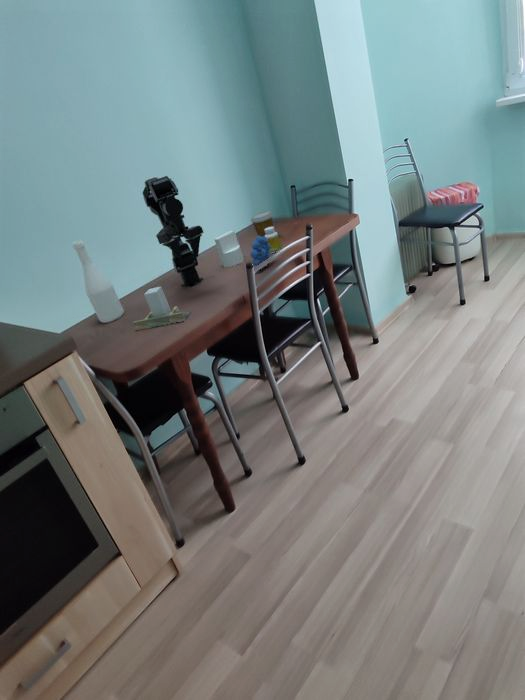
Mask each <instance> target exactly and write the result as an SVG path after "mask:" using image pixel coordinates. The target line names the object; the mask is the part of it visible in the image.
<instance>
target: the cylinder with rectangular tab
mask: <svg viewBox="0 0 525 700" xmlns="http://www.w3.org/2000/svg"><path fill="white" fill-rule="evenodd" d="M214 243H215V245H216V248H217V251H218V255H219V258H220V261H221V264H222V267H223V268H225V267H228V268H232V266H233V267H236V266H238V265H237V264H239V263H241V262H242V263H244V261H245V258H244V255H243V252H242V249H241V245H240V244H239V240H238V237H237V235H236V231H235V230H230V231H227V232H226V233H224V234H222V235H220V236H217V237H216V238H214ZM243 260H244V261H243ZM242 263H241V264H242ZM235 265H236V266H235ZM239 265H240V264H239Z"/></svg>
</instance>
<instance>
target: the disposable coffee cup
mask: <svg viewBox="0 0 525 700" xmlns="http://www.w3.org/2000/svg"><path fill="white" fill-rule="evenodd" d="M250 219H251V220H250V222H251V223H252V225H253V226H254V230H255V231H256V232H255V233H256V234H257V236H261V237H265V235H266V233H265V230H264V229H266V228H268V227H274V222H273V213H272V212H271V211H269V210H267V211H266V210H265V211H262V212H261V211H260V212H258V213H256V214H254V215H252V216H251V217H250Z"/></svg>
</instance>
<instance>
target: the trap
mask: <svg viewBox="0 0 525 700" xmlns="http://www.w3.org/2000/svg"><path fill="white" fill-rule="evenodd" d="M191 313H192V311H186V312H184V311H181V312H180V309H179V307H178V305H176V306H174V307H173V308H172V309H171V313H170V314H169V315H164V316H159V317H153V314H152V312H151V311H150V312H149V313H148V315H147V316H146V317H145V318H144V319H140V320H135V321H133V322H132V324H133V327H134V328H135V331H136V330H137V331H141V330H148V329H152V327H153V328H157V327H156V326H158V327H162V326H161V325H163V326H167V325H166V324H168V325H171V323H173V324H177V323H176V322H179V323H183V322H182V321H184V322H185V321H186V320H187V319H188V318H189V316H190V315H191Z"/></svg>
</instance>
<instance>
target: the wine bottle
mask: <svg viewBox="0 0 525 700" xmlns="http://www.w3.org/2000/svg"><path fill="white" fill-rule="evenodd" d="M72 247H73V249H74V250H75V251H76V253H77V256H78V258H79V260H80V262H81V266H82V269H83V277H84V286H85V292H86V296H87V298H88V299H89V303H90V304H91V306H92V308H93V310H94V312H95V314H96V316H97V318H98V320H99V321H100V322H101V323H104V324H105V323H106V324H107V323H111V322H114V321H116V320H118V319H120V318H121V317H122V316H123V315H124V313H125V311H124V307H123V306H122V304H121V303H122V302H120V298H119V297H118V294H117V293H116V289H114V286H113V284H112V283H111V281H110V280H109V279H108V278H107V277H106V276H105V275H104V273H103V272H102V271H101V270H100V269H99V268H98V267H97V266H96V265H95V264H94V262H93V261H92V258H91V257H90V255H89V253H88V251H87V249H86V247H85V242H84V241H82V239H78V240H75V241H73V242H72Z"/></svg>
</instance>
